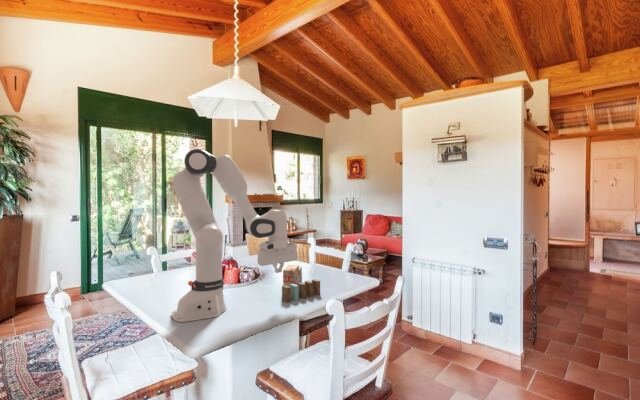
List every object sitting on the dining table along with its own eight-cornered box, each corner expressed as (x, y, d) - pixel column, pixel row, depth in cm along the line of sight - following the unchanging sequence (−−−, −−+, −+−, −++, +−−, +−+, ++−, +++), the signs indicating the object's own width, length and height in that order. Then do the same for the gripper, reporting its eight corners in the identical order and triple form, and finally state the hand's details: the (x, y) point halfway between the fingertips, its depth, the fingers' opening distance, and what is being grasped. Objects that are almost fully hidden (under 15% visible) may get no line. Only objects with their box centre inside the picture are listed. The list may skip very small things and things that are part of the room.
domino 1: (286, 302, 156) (286, 288, 156) (282, 300, 159) (282, 286, 159) (290, 301, 157) (290, 287, 157) (285, 299, 161) (285, 285, 161)
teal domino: (294, 300, 159) (294, 286, 159) (289, 298, 162) (289, 284, 162) (298, 299, 160) (298, 285, 160) (293, 297, 164) (293, 283, 163)
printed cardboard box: (291, 281, 192) (291, 261, 192) (302, 282, 191) (302, 261, 191) (283, 293, 171) (282, 269, 171) (294, 293, 170) (294, 270, 170)
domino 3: (309, 297, 164) (309, 283, 164) (304, 294, 168) (304, 281, 167) (313, 296, 165) (313, 282, 165) (308, 294, 169) (308, 280, 169)
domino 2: (302, 298, 161) (302, 284, 161) (297, 296, 165) (297, 282, 165) (305, 298, 163) (305, 284, 162) (301, 295, 166) (300, 282, 166)
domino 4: (316, 295, 167) (316, 281, 167) (311, 293, 170) (311, 279, 170) (320, 294, 168) (320, 281, 168) (315, 292, 172) (315, 279, 171)
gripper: (292, 240, 164) (293, 267, 164) (255, 244, 151) (256, 274, 152) (299, 241, 159) (300, 270, 159) (262, 246, 146) (262, 277, 147)
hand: (278, 272), depth 155 cm, fingers closed
